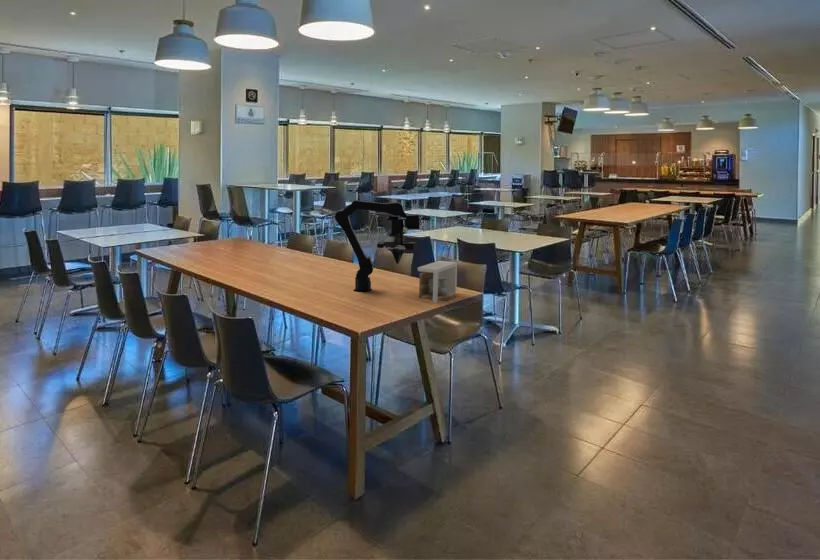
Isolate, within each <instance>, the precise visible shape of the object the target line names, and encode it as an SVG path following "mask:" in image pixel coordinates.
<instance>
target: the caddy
mask: <svg viewBox="0 0 820 560" xmlns="http://www.w3.org/2000/svg"><path fill="white" fill-rule="evenodd" d="M418 285H419V292H418V295H419V296H418V297H419V299H426V300H427V299H428V300H433V273H432V272H423V271H421V272H420V273H419V284H418ZM455 297H456V294H449V293H447V279H439V280H438V301H442V302H447V301H449V300H452V299H453V298H454V299H455Z"/></svg>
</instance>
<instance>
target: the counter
mask: <svg viewBox="0 0 820 560" xmlns="http://www.w3.org/2000/svg"><path fill="white" fill-rule="evenodd" d="M417 271H418V272H432V278H433V299H432V304H433V303H435V304H437V303H438V301H439V300H438V280H439V279H447V293H449V294H455V295H457V287H458V286H457V284H458V283H457V282H458V281H457V280H458V276H457V275H458V262H455V261H446V260H438V261H433V262H430V263H427V264H424V265H420V266H418V267H417Z"/></svg>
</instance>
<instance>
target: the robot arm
mask: <svg viewBox="0 0 820 560" xmlns="http://www.w3.org/2000/svg"><path fill="white" fill-rule="evenodd" d="M357 210H363V211H374V212H382V213H385V214H389V215H388V217H387V218H386V221H390V232H389V235H388V236H387V238H386V239H385V240H379V241H377V243H376V248H379V249H383V248H384V247H385V248H386V249H387V248H388V249H387V250H388V251H390V252H391V254H392V255H393V258H394V261H395V264H396V265H397V264H400V262H401V259H402V256H403V255H404V253H405V251H407V250H409V251H410V250H411V251H412V250H417V249H419V244H418V242H416V241H408V242H405V241H406V240H404V235H406V234H405V233H406V231H404V228H406V229H407V230H408V231H414V230H415V231H416V230H420V215H419V214H407V213H406V212H405V210H404V207H403V204H402V203H400V202H399V201H391V202H374V201H364V200H358V199H355V200H352V201H351V203H350V204H348V205H347V206H346V207H345V208H344V209H339V210H337V212H336V213H335V215H334V219H335V221H336V223H337V225H338V226H339V227H340V228H341V229H342V231H343V232H344V234H345V236H346V238H347V239H348V242H349V243H350V245H351V248H352V250H353V253H354V254H355V256H356V258H357V263H358V266H359V269H358V270H357V271H356V274H355V280H354V282H355V284H354V285H355V287H354V289H353V291H354V292H360V293H365V292H366V293H367V292H369V291H370V292H371V291H372V290H373V288H372V281H371V277H369V276H370V275H372V273H373V270H374V265H375V264H374V262H373V260H372V258H371V255H369V256H367V254H366V253H365V252H364V249H363V247H362V245H361V243H360V241H359V239H358V237H357V235H356V233H355V231H354V228H353V226H352V222H351V219H350V216H351V215H352V214H354V212H356V211H357ZM399 217H400V218H399Z"/></svg>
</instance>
